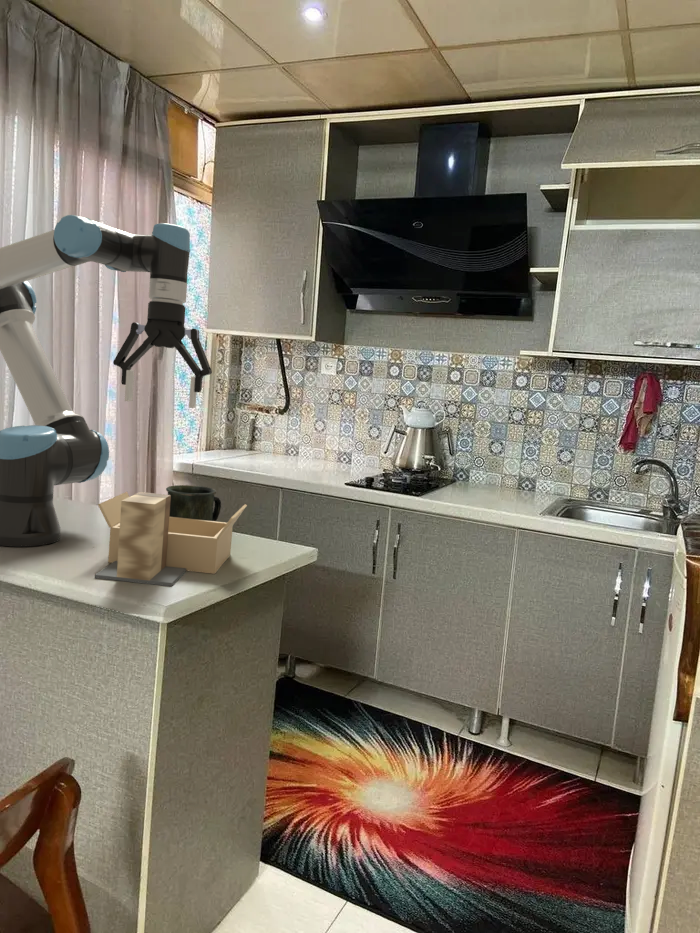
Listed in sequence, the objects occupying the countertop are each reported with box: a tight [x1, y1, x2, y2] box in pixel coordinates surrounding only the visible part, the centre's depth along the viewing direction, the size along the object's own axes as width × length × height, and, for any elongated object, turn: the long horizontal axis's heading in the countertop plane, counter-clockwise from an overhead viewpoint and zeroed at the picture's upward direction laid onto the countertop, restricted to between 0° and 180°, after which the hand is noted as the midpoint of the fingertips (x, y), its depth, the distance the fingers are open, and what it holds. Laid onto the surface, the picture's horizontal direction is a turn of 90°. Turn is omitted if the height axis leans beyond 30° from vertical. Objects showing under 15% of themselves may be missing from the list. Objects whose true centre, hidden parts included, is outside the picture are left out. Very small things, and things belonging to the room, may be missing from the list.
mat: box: [94, 561, 187, 587], centre depth 133 cm, size 14×10×1 cm
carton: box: [97, 491, 248, 575], centre depth 145 cm, size 26×15×12 cm, turn 88°
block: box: [117, 491, 171, 581], centre depth 132 cm, size 6×10×14 cm, turn 178°
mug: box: [165, 484, 222, 522], centre depth 162 cm, size 11×15×12 cm
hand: (160, 404), depth 150 cm, fingers open, 13 cm apart
